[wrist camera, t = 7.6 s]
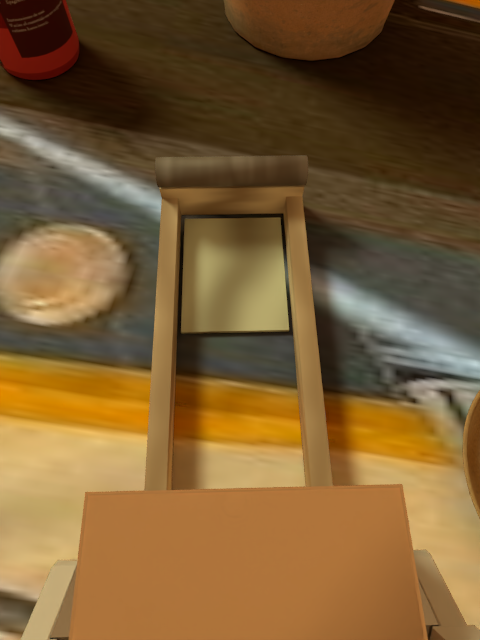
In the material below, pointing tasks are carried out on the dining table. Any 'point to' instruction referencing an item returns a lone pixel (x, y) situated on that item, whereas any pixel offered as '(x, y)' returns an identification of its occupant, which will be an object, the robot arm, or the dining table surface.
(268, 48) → the pottery
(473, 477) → the plant saucer
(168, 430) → the bay
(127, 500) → the orange brown block
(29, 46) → the canned food
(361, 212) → the dining table surface
